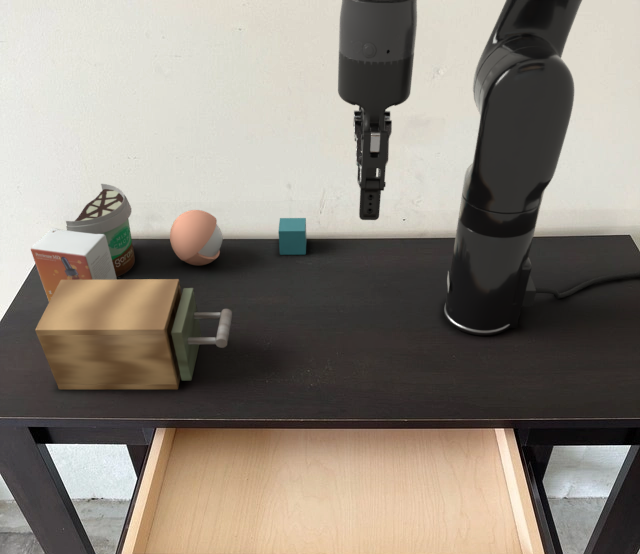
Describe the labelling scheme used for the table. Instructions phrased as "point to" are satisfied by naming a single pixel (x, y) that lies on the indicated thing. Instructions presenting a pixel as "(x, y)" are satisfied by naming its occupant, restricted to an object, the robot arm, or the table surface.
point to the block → (292, 236)
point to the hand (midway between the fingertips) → (367, 200)
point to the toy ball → (196, 237)
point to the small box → (71, 258)
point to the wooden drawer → (193, 332)
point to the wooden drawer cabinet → (111, 334)
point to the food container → (109, 225)
